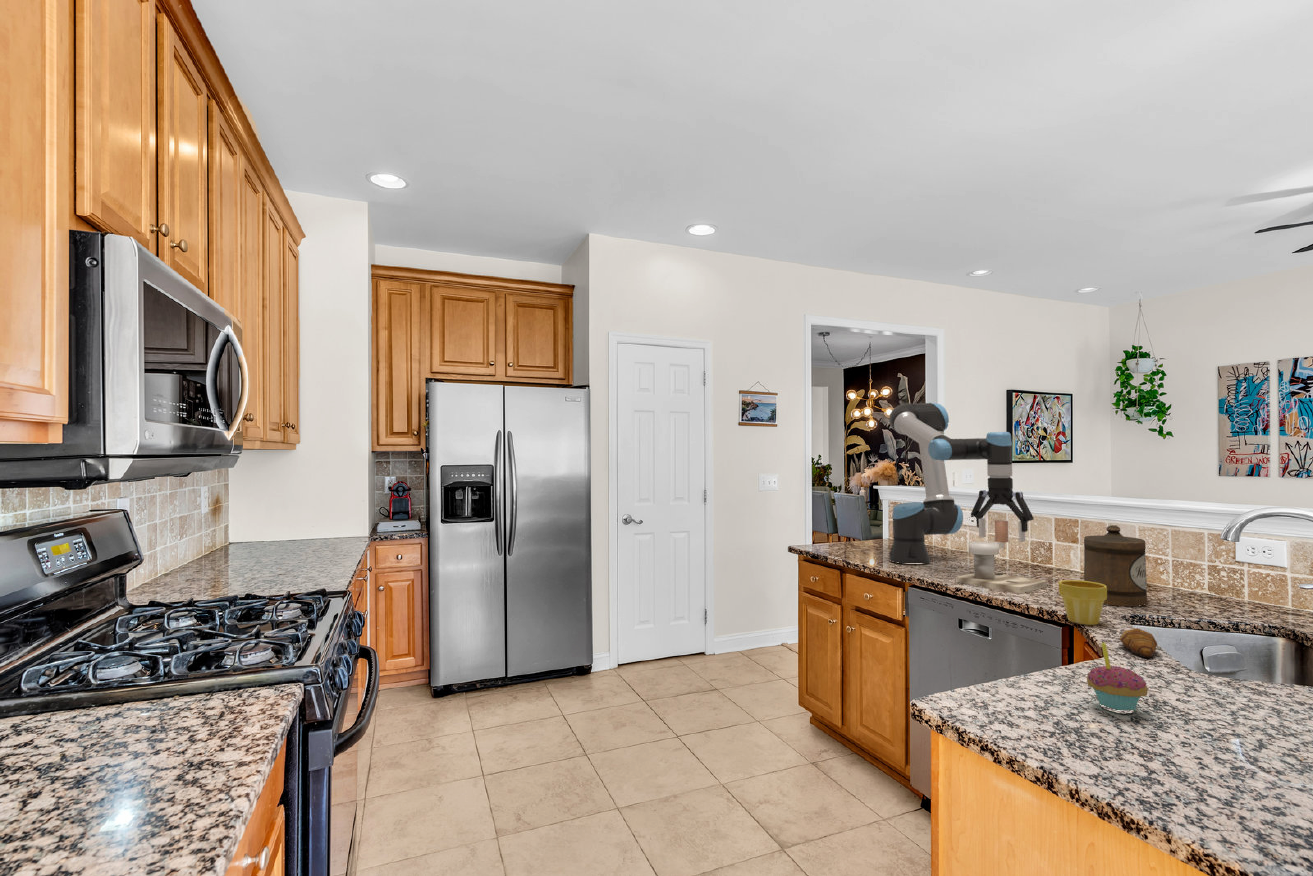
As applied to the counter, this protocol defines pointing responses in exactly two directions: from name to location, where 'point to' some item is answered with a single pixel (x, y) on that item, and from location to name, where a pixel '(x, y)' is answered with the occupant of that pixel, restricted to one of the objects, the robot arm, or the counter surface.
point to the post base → (998, 577)
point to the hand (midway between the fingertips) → (1001, 539)
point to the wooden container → (1117, 566)
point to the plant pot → (1083, 600)
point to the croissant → (1139, 642)
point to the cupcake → (1116, 685)
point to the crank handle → (992, 547)
